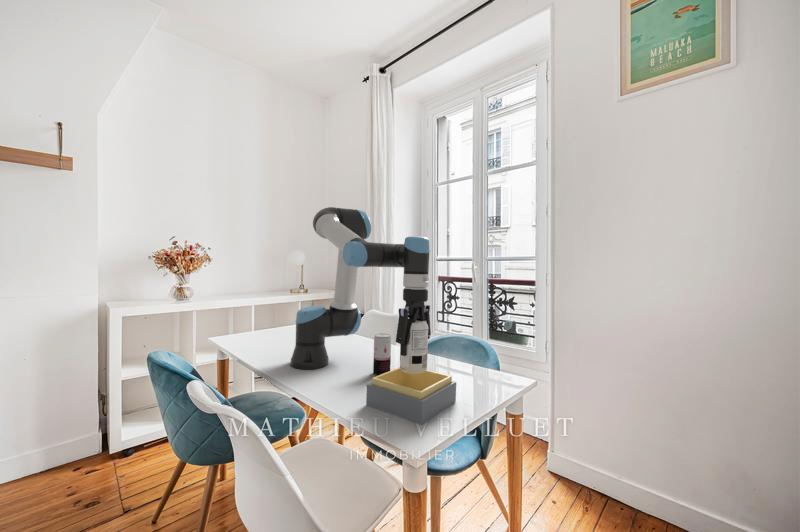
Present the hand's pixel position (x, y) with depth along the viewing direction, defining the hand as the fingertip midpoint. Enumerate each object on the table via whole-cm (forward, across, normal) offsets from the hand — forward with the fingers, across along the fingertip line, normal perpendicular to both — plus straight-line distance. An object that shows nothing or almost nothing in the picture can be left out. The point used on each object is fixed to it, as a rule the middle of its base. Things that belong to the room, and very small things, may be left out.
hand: (413, 362), depth 108 cm
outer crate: (+13, 0, 0) cm, 13 cm away
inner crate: (+12, 0, 0) cm, 12 cm away
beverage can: (+13, +17, +26) cm, 34 cm away
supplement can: (+2, 0, 0) cm, 2 cm away
